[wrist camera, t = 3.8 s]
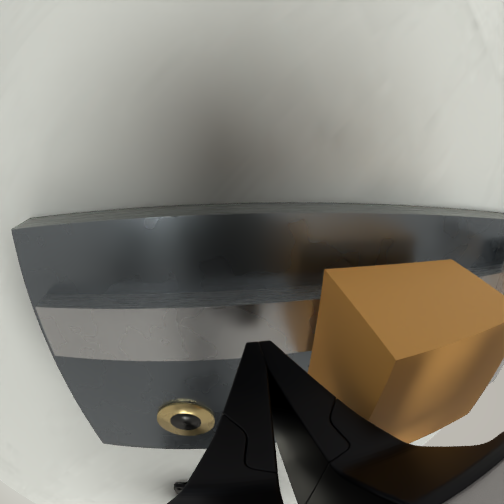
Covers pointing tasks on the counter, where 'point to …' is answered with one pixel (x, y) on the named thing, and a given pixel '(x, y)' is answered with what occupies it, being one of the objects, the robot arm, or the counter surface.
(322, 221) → the hole plate
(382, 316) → the divider leg
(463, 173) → the counter surface
